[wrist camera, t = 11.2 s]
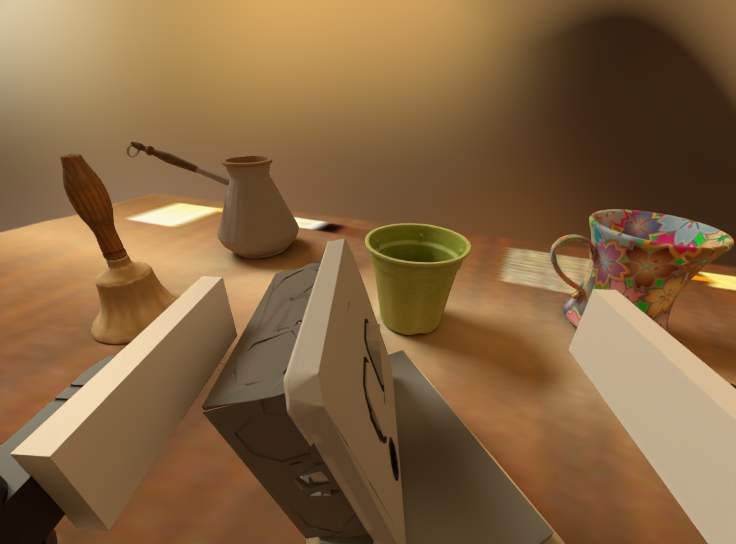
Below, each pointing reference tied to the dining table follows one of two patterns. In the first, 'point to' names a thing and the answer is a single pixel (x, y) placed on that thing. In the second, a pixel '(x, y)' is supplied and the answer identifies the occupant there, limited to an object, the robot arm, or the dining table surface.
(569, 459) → the dining table surface
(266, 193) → the coffee pot
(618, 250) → the mug
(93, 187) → the hand bell
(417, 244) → the plant pot
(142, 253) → the dining table surface
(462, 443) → the birch stand
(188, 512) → the dining table surface
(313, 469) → the electrical switch
